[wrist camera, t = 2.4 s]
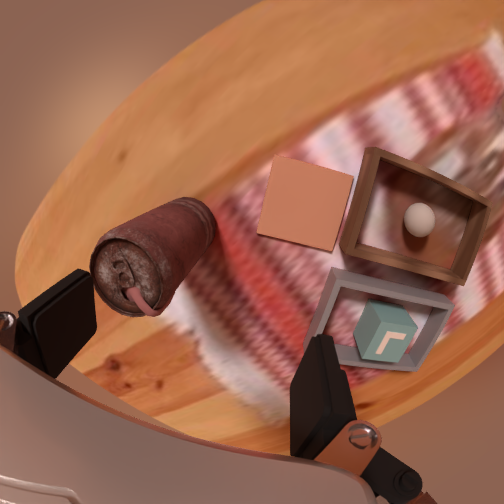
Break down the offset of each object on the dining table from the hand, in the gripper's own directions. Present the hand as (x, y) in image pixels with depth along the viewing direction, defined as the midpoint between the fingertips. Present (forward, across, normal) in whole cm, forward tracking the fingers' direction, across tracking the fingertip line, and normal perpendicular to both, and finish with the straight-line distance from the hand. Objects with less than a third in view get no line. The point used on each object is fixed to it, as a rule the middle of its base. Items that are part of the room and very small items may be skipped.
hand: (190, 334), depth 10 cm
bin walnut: (+19, -18, -6) cm, 27 cm away
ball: (+19, -17, -6) cm, 26 cm away
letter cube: (+19, -18, +8) cm, 27 cm away
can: (+19, +6, +2) cm, 20 cm away
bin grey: (+19, -18, +8) cm, 27 cm away
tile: (+19, -5, -3) cm, 20 cm away
